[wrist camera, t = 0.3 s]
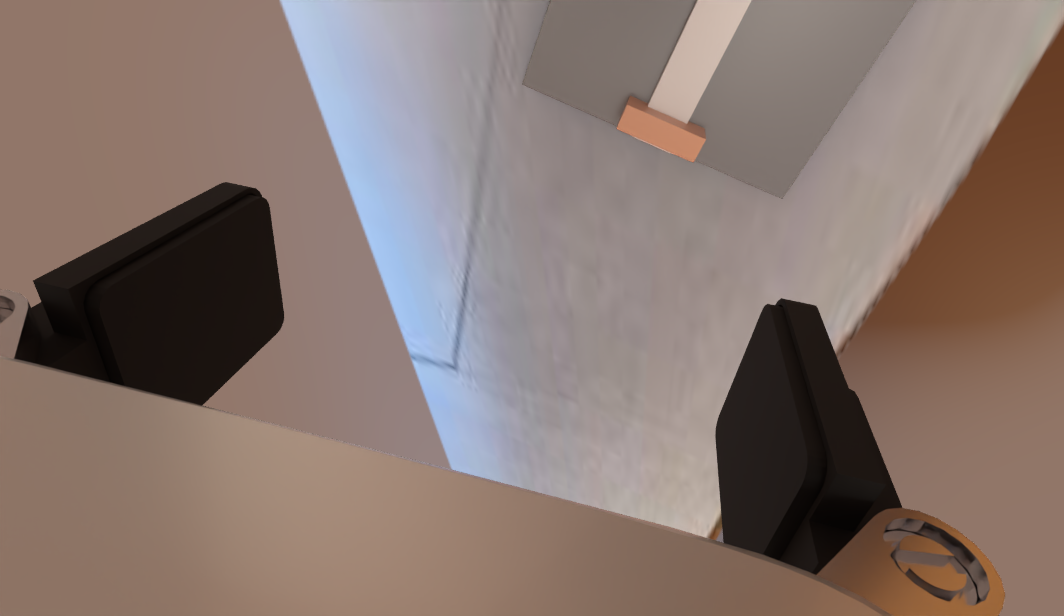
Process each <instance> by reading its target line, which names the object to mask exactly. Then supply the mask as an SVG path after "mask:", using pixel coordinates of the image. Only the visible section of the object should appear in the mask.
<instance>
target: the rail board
mask: <svg viewBox="0 0 1064 616" xmlns="http://www.w3.org/2000/svg"><path fill="white" fill-rule="evenodd" d="M915 2H916V0H550V3H549V6H548V9H547V12H546V15H545V18H544V21H543V24H542V27H541V30H540V33H539V36H538V39H537V42H536V45H535V48H534V51H533V53H532V56H531V59H530V62H529V65H528V68H527V71H526V74H525V77H524V80H523V83H522V85H525V86H527V87H529V88H531V89H534V90H536V91H538V92H541V93H543V94H545V95H547V96H550V97H552V98H554V99H556V100H559V101H561V102H563V103H566V104H568V105H570V106H572V107H575V108H577V109H579V110H581V111H584V112H586V113H588V114H591V115H593V116H595V117H597V118H600V119H602V120H604V121H606V122H609V123H611V124H613V125H616V126H617V128H616V129H618V130H620V131H622V132H625V133H627V134H629V135H632V136H633V137H634V138H636V139H638V140H641V141H643V142H645V143H647V144H650V145H652V146H654V147H657V148H659V149H661V150H663V151H666V152H668V153H670V154H675V155H677V156H679V157H682V158H684V159H686V160H688V161H691V162H694V161H697V162H700V163H702V164H704V165H706V166H709V167H711V168H713V169H715V170H718V171H720V172H722V173H725V174H727V175H729V176H731V177H734V178H736V179H738V180H740V181H743V182H745V183H747V184H750V185H752V186H754V187H756V188H759V189H761V190H763V191H765V192H768V193H770V194H772V195H775V196H777V197H779V198H781V199H783V197H784V196H785V194H786V193H787V191H788V190H789V188H790V187H791V185H792V184H793V182H794V181H795V179H796V178H797V176H798V175H799V173H800V172H801V170H802V169H803V168H804V166H805V165H806V163H807V162H808V160H809V159H810V157H811V156H812V154H813V153H814V151H815V150H816V148H817V147H818V145H819V144H820V142H821V141H822V139H823V138H824V136H825V135H826V133H827V132H828V130H829V129H830V128H831V126H832V125H833V123H834V122H835V120H836V119H837V117H838V116H839V114H840V113H841V111H842V110H843V108H844V107H845V105H846V104H847V102H848V101H849V99H850V98H851V96H852V95H853V93H854V92H855V90H856V89H857V88H858V86H859V85H860V83H861V82H862V80H863V79H864V77H865V76H866V74H867V73H868V71H869V70H870V68H871V67H872V65H873V64H874V62H875V61H876V59H877V58H878V56H879V55H880V53H881V52H882V50H883V49H884V48H885V46H886V45H887V43H888V42H889V40H890V39H891V37H892V36H893V34H894V33H895V31H896V30H897V28H898V27H899V25H900V24H901V22H902V21H903V19H904V18H905V16H906V15H907V13H908V12H909V10H910V9H911V8H912V6H913V5H914V3H915Z"/></svg>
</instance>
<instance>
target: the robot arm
mask: <svg viewBox="0 0 1064 616" xmlns="http://www.w3.org/2000/svg"><path fill="white" fill-rule="evenodd" d="M33 282H34V284H35V287H36V289H37V292H38V294H39V297H40V299H41V303H39V304H37V305H36V306H34V307H32V308H31V307H30V305H29V302H28V300H27V299H26V298H25V297H24V296H23V295H22V294H20V293H17V292H13V291H10V290H1V289H0V616H999V613H1000V612H1001V610H1002V608H1003V604H1004V599H1005V592H1004V588H1003V584H1002V580H1001V578H1000V576H999V574H998V573H997V571H996V569H995V568H994V566H993V565H992V563H991V561H990V560H989V559H988V558H987V557H986V556H985V554H984V553H983V552H982V551H981V550H980V549H979V548H978V547H977V546H976V545H975V544H974V543H973V542H972V541H970V540H969V539H968V538H967V537H965V536H964V535H963V534H962V533H960V532H959V531H958V530H956V529H955V528H953V527H951V526H950V525H948V524H946V523H945V522H943V521H941V520H940V519H938V518H935V517H933V516H930V515H928V514H925V513H923V512H920V511H916V510H911V509H905V508H902V506H901V503H900V500H899V498H898V495H897V493H896V491H895V488H894V485H893V483H892V481H891V478H890V475H889V473H888V470H887V468H886V465H885V463H884V461H883V458H882V456H881V453H880V451H879V448H878V446H877V443H876V441H875V438H874V436H873V433H872V431H871V428H870V426H869V423H868V421H867V418H866V416H865V413H864V411H863V408H862V406H861V403H860V401H859V398H858V396H857V395H856V393H855V392H854V391H852V390H851V389H849V388H848V385H847V383H846V380H845V378H844V375H843V372H842V370H841V367H840V365H839V362H838V360H837V357H836V354H835V352H834V349H833V347H832V344H831V341H830V339H829V336H828V334H827V331H826V329H825V326H824V323H823V321H822V318H821V316H820V313H819V310H818V308H817V307H816V306H815V305H810V304H805V303H801V302H796V301H791V300H786V299H782V298H781V299H780V300H779V301H778V302H777V303H776V305H770V304H767V305H765V307H764V308H763V310H762V312H761V315H760V317H759V319H758V322H757V324H756V327H755V329H754V332H753V334H752V337H751V339H750V341H749V344H748V346H747V349H746V351H745V354H744V356H743V359H742V361H741V363H740V366H739V368H738V371H737V373H736V376H735V378H734V381H733V383H732V385H731V388H730V390H729V393H728V395H727V398H726V400H725V403H724V405H723V407H722V410H721V412H720V415H719V418H718V421H717V426H716V450H717V463H718V476H719V489H720V502H721V515H722V528H723V541H724V543H722V542H718V541H715V540H712V539H708V538H705V537H702V536H698V535H695V534H692V533H688V532H685V531H681V530H678V529H675V528H671V527H668V526H664V525H660V524H656V523H653V522H649V521H645V520H641V519H637V518H633V517H630V516H626V515H622V514H618V513H614V512H611V511H607V510H603V509H599V508H595V507H592V506H588V505H584V504H580V503H576V502H573V501H569V500H565V499H561V498H557V497H554V496H550V495H546V494H542V493H538V492H535V491H531V490H527V489H523V488H519V487H516V486H512V485H508V484H504V483H500V482H497V481H493V480H489V479H485V478H481V477H478V476H474V475H470V474H466V473H462V472H459V471H455V470H451V469H447V468H443V467H440V466H436V465H432V464H428V463H424V462H420V461H416V460H413V459H409V458H405V457H401V456H397V455H393V454H389V453H385V452H381V451H378V450H373V449H370V448H366V447H362V446H358V445H354V444H350V443H347V442H342V441H339V440H335V439H331V438H327V437H323V436H319V435H315V434H311V433H308V432H303V431H300V430H296V429H292V428H288V427H284V426H280V425H276V424H273V423H269V422H265V421H260V420H257V419H253V418H249V417H245V416H241V415H237V414H233V413H229V412H225V411H221V410H217V409H213V408H209V407H206V406H202V405H203V404H204V403H205V402H206V401H207V400H208V399H209V398H210V397H211V396H213V395H214V393H216V392H217V391H218V390H219V389H220V388H221V387H222V386H223V385H224V384H225V383H226V382H227V381H228V380H229V379H230V378H231V377H232V376H233V375H234V374H235V373H236V372H237V371H238V370H239V369H240V368H242V367H243V365H245V364H246V363H247V362H248V361H249V360H250V359H251V358H252V357H253V356H254V355H255V354H256V353H257V352H258V351H259V350H260V349H261V348H262V347H263V346H264V345H265V344H267V343H268V341H270V340H271V339H272V338H273V337H274V336H275V335H276V334H277V333H278V331H279V330H280V329H281V327H282V324H283V321H284V311H283V303H282V295H281V289H280V280H279V273H278V266H277V259H276V251H275V244H274V236H273V229H272V222H271V214H270V207H269V204H268V202H267V200H266V199H265V198H263V197H262V195H261V194H260V192H259V191H258V190H257V189H256V188H251V187H246V186H242V185H237V184H232V183H227V182H225V183H221V184H219V185H217V186H215V187H213V188H212V189H209V190H208V191H206V192H204V193H202V194H200V195H198V196H196V197H194V198H192V199H190V200H188V201H186V202H184V203H183V204H180V205H178V206H177V207H175V208H173V209H171V210H169V211H167V212H165V213H163V214H161V215H160V216H157V217H155V218H153V219H152V220H150V221H148V222H146V223H144V224H142V225H140V226H138V227H136V228H134V229H132V230H130V231H128V232H127V233H124V234H122V235H120V236H119V237H117V238H115V239H113V240H111V241H109V242H107V243H105V244H103V245H101V246H99V247H97V248H95V249H93V250H91V251H89V252H88V253H86V254H84V255H82V256H80V257H78V258H76V259H74V260H72V261H70V262H68V263H66V264H65V265H62V266H60V267H59V268H57V269H55V270H53V271H51V272H49V273H47V274H45V275H43V276H41V277H39V278H37V279H35V280H33Z"/></svg>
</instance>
